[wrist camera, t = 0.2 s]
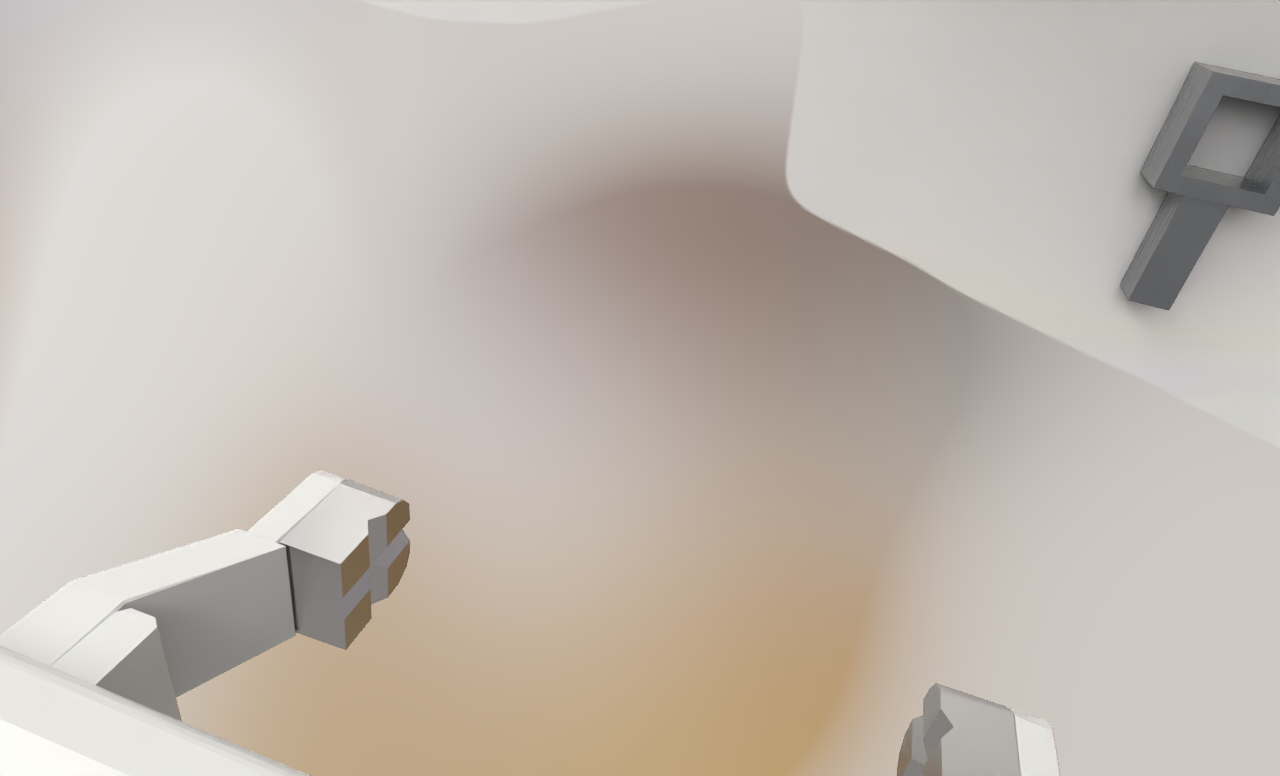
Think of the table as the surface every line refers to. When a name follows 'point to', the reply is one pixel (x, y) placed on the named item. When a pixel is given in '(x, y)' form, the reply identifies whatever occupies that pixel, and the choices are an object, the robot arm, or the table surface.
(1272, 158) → the square loop paddle
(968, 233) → the table surface
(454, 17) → the table surface
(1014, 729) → the robot arm
